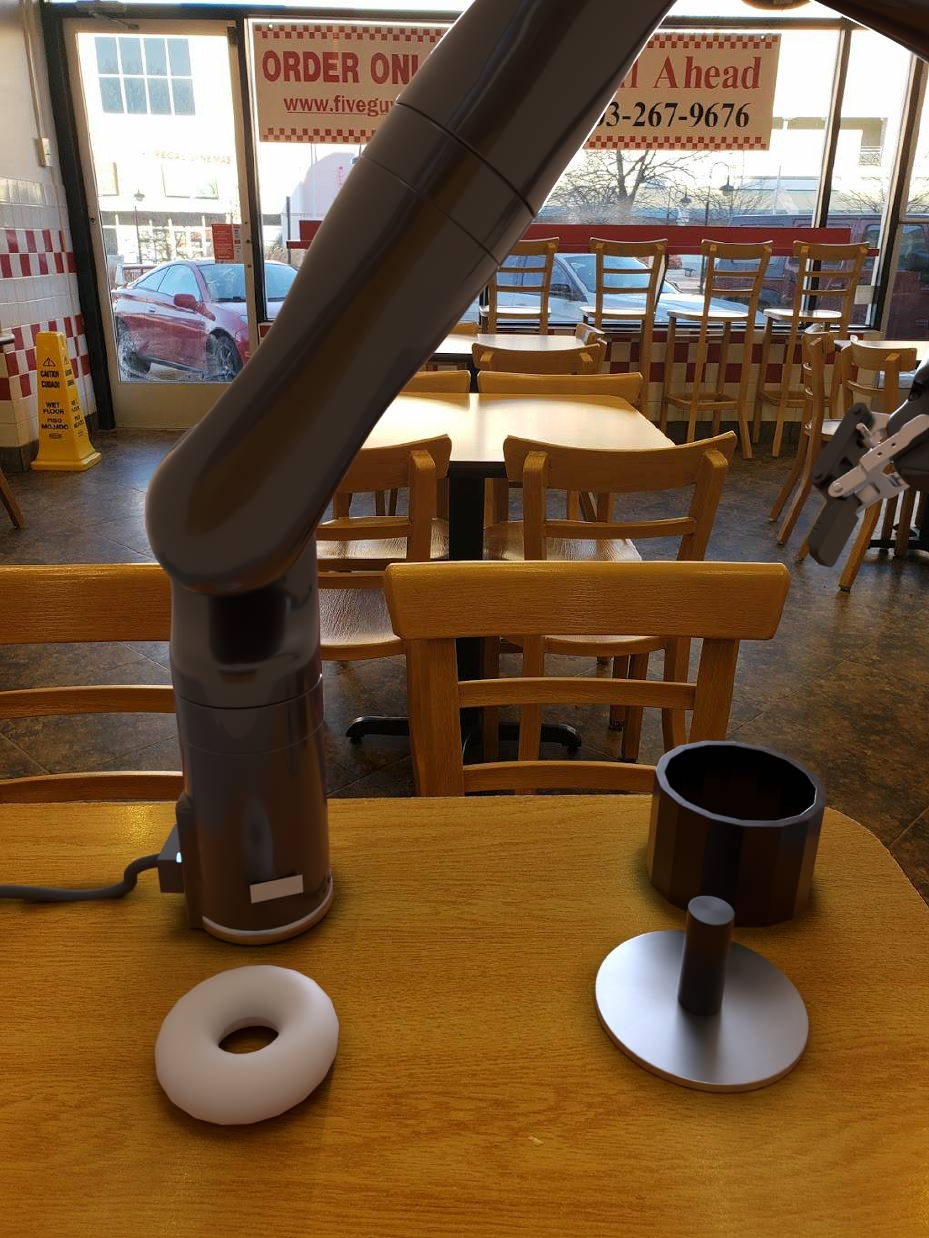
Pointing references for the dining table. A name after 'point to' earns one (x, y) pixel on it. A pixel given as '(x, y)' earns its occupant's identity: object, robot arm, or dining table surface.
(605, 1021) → the lid
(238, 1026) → the donut
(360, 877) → the dining table surface
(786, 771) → the pot
